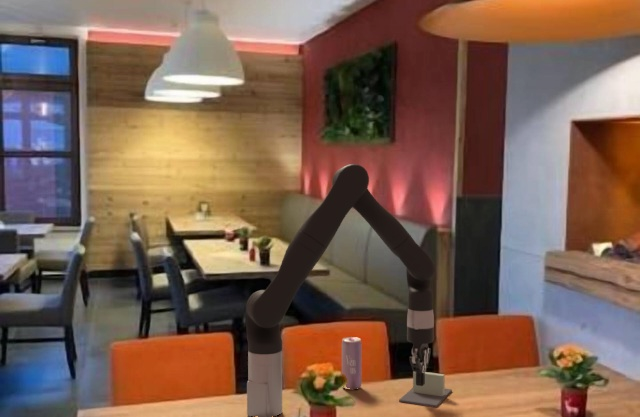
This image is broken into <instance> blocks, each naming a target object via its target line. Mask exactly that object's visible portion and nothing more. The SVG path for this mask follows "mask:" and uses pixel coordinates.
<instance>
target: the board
mask: <svg viewBox="0 0 640 417" xmlns="http://www.w3.org/2000/svg"><path fill="white" fill-rule="evenodd" d="M412 378H413V379H412V388H413V392H415V393H422V394H429V395H436V396H444V388H445V378H446V376H445V373H444V374H443V373H436V372H427V371H425V384H424V385H423V386H418V385H416V372H413V371H412Z"/></svg>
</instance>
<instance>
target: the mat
mask: <svg viewBox="0 0 640 417" xmlns="http://www.w3.org/2000/svg"><path fill="white" fill-rule="evenodd" d="M452 392H453V389H452V388H451V389H450V388H445V387H444V396H436V395H429V394H422V393H415V392H413V387H412V388H411V389H410V390H408V391H407V392H406V393H405V394H404V395H403V396H402V397H401V398H399V399H398V401H399V403H405V404H412V405H419V406H424V407H431V408H438V407H439V406H440V405H441V403H442V402H444V400H445V399H446V398H447V397H448V396H449V395H450V394H451V393H452Z"/></svg>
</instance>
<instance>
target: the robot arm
mask: <svg viewBox="0 0 640 417" xmlns="http://www.w3.org/2000/svg"><path fill="white" fill-rule="evenodd" d="M369 176H370V175H369V173H368V171H367V170H366V169H365V167H363V166H362V165H360V164H356V163H352V164H346V165H345V166H342V167H340V168H339V169H337V171H335V173H334V174H333V177H332V187H331V188H330V190H329V192H328V193H327V194H326V197H325V198H324V200H323V201H322V202H321V203H320V205H319V206H318V207H317V208H316V209H315V210H314V211H313V212H312V213H311V214H310V216H309V217H307V219H306V220H305V221H304V222H303V224H302V225H301V226H300V227H299V229H298V230H297V232H296V234H295V235H294V236H293V238H292V239H291V241H290V242H289V244H288V246H287V248H286V251H285V253H284V255H283V258H282V260H281V263H280V267H279V269H278V271H277V273H276V275H275V277H273V279H272V281H271V282H270V283H269V285H268V286H267V287H266V289H260V290H257V291H255V292H253V293H252V294H251V295H250V296H249V297H248V299H247V303H246V305H245V306H246V307H245V308H246V309H245V322H246V324H245V325H246V326H245V327H246V328H245V329H246V341H247V348H248V349H247V351H248V352H247V354H248V356H247V360H248V361H247V366H248V367H247V369H248V372H247V373H248V374H247V375H248V378H247V379H248V380H247V382H246V416H247V415H249V416H248V417H251V416H258V417H272V416H276V417H278V416H277V415H279V414H281V413H282V414H283V340H282V336H281V330H280V322H281V321H282V320H283V319H284V317H285V315H286V313H287V311H288V309H289V308H290V306H291V304H292V301H293V300H294V298H295V296H296V294H297V292H298V291H299V290H300V288H301V286H302V285H303V283H304V282H305V281H306V279H307V278H308V277H309V275H310V274H311V273H312V270H313V269H314V268H315V266H316V265H317V264H318V262H319V261H320V259H321V258H322V257H323V255H324V254H325V252H326V250H327V248H329V245H330V244H331V242H332V240H333V239H334V237H335V235H336V234H337V232H338V230H339V229H340V226H341V225H342V223H343V221H344V219H345V217H346V216H347V215H348V213H349V212H350V211H351V209H355V211H356V212H357V213H358V214H359V215H360V216H361V217H362V218H363V219H364V220H365V221H366V223H368V225H369V226H370V227H371V228H372V229H373V231H374V232H375V233H376V235H377V236H378V237H379V238H380V240H381V241H382V242H383V243H384V244H385V245H386V247H387V248H388V249H389V250H390V251H391V253H392V254H393V255H394V256H395V257H397V258H398V259H399V260H400V261H401V262H402V264H403V265H404V266H405V267H406V270H405V271H406V272H405V274H406V280H407V289H408V290H407V291H408V293H407V294H408V296H407V314H406V315H407V317H406V329H407V330H406V340H407V342H409V343H412V344H413V345H412V347H411V355H412V356H409V359H408V360H409V363H410V366H411V370H412V373H413V372H416V385H418V386H423V385H424V384H425V372H427V368H429V362H430V357H431V352H432V348H429V344H432V343H433V342H434V340H435V334H434V333H435V327H434V326H435V318H434V317H435V316H434V314H435V313H434V294H433V290H432V289H431V279H432V278H433V277H434V275H435V274H436V265H435V263H434V261H433V259H432V258H431V257H430V256H429V255H428V254H427V252H426V251H424V249H423V248H422V247H421V246H419V244H418V243H417V242H416V241H415V240H414V238H413V237H412V235H411V234H410V233H409V231H407V229H406V228H405V227H404V225H402V223H401V222H400V221H399V220H398V219H397V217H395V216H394V215H393V214H391V212H389V211H388V210H387V209H386V208H385V207H384V206H383V205H381V204H380V202H378V200H377V199H376V198H375V197H374V196H373V195H372V193H371V191H370V190H369V189H368V187H369V186H370V185H369V182H370V177H369ZM282 414H281V415H282ZM279 416H280V415H279Z"/></svg>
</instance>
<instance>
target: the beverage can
mask: <svg viewBox="0 0 640 417" xmlns="http://www.w3.org/2000/svg"><path fill="white" fill-rule="evenodd" d="M361 340H362V339H361V338H359V337H354V336H353V337H352V336H350V337H349V336H347V337H343V338H342V340H341V341H342V342H341V375H342V374H344V375H345V376H346V378H347V384H346V387H347V388H350V389H357V388H360V389H361V387H362V341H361Z"/></svg>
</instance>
